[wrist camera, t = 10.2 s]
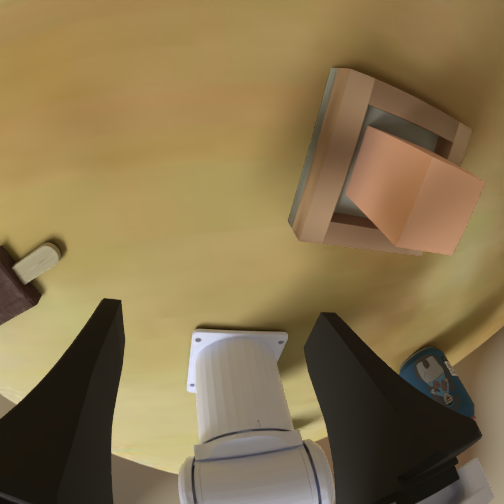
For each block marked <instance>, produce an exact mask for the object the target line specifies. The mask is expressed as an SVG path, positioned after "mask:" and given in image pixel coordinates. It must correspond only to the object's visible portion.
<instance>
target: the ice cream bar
mask: <svg viewBox="0 0 504 504" xmlns="http://www.w3.org/2000/svg"><path fill="white" fill-rule="evenodd" d="M60 258H61V254H60V251H59V249H58V248H57V247H56V246H55V245H54V244H52V243H44V244H42V245H41V246H39V247H38V248H36V249H35V250H33V251H32V252H31V253H29V254H28V255H26V256H25V257H24V258H22V259H21V260H19V261H18V262H17V263H15V262H14V260H13V259H12V257H11V256H10V255H9V254H8V253H7V252H6V250H5V249H4V248H3V247H2V246H0V325H1V324H3V323H5V322H7V321H8V320H10V319H12V318H14V317H15V316H17V315H19V314H21V313H23V312H24V311H26V310H28V309H30V308H32V307H33V306H35V305H37V304H38V302H39V300H40V298H41V296H42V295H41V294H40V293H39V292H38V290H37V289H36V288H35V287H34V285H33V284H32V283H31V282H30V281H31V280H33V279H34V278H36V277H38V276H39V275H41V274H42V273H44V272H46V271H47V270H49V269H51V268H52V267H54V266H56V265H57V264H58V262H59V260H60Z"/></svg>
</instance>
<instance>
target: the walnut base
mask: <svg viewBox="0 0 504 504" xmlns="http://www.w3.org/2000/svg"><path fill="white" fill-rule="evenodd" d="M367 125H368V126H371V127H373V128H376V129H379V130H382V131H384V132H387V133H390V134H392V135H395V136H397V137H400V138H402V139H405V140H407V141H410V142H412V143H415V144H417V145H419V146H422V147H424V148H426V149H428V150H429V151H431V152H433V153H435V154H437V155H439V156H441V157H443V158H445V159H446V160H448V161H450V162H452V163H454V164H455V165H457V166H459V167H460V166H461V163H462V160H463V157H464V154H465V152H466V149H467V146H468V143H469V140H470V136H471V133H472V129H470V128H468V127H467V126H465V125H464V124H462V123H461V122H459V121H457V120H456V119H454V118H452V117H451V116H449V115H447V114H445V113H444V112H442V111H440V110H438V109H437V108H435V107H433V106H431V105H429V104H427V103H426V102H424V101H422V100H420V99H418V98H416V97H414V96H412V95H410V94H408V93H406V92H404V91H402V90H400V89H398V88H395V87H393V86H391V85H389V84H387V83H384V82H382V81H380V80H377V79H375V78H373V77H370V76H368V75H365V74H363V73H360V72H358V71H355V70H353V69H348V68H331V69H330V73H329V77H328V80H327V84H326V88H325V92H324V95H323V99H322V103H321V107H320V110H319V114H318V118H317V121H316V125H315V128H314V132H313V136H312V139H311V143H310V146H309V150H308V153H307V157H306V161H305V164H304V168H303V171H302V174H301V178H300V181H299V185H298V188H297V192H296V195H295V199H294V202H293V205H292V209H291V212H290V215H289V219H288V222H289V224H290V226H291V227H292V229H293V231H294V233H295V235H296V237H297V239H298V240H299V241H302V242H310V243H319V244H327V245H336V246H344V247H352V248H360V249H368V250H376V251H384V252H392V253H400V254H407V255H415V256H421V255H422V253H423V251H420V250H413V249H407V248H400V247H395V246H394V245H393V244H392V242H391V241H390V240H389V239H388V238H387V237H386V236H385V235H384V234H383V233H382V232H381V230H380V229H379V228H378V227H377V226H376V225H375V224H374V223H373V222H372V221H371V220H370V219H369V218H368V217H367V216H366V215H365V214H364V213H363V212H362V211H361V210H360V209H359V208H358V207H357V206H356V205H355V204H354V203H353V202H352V201H351V200H350V199H349V198H348V197H347V196H346V195H345V192H346V189H347V186H348V184H349V181H350V178H351V175H352V172H353V169H354V166H355V163H356V160H357V157H358V154H359V150H360V147H361V144H362V141H363V138H364V135H365V131H366V128H367Z"/></svg>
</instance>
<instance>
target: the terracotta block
mask: <svg viewBox="0 0 504 504" xmlns="http://www.w3.org/2000/svg"><path fill="white" fill-rule="evenodd" d="M484 185H485V182H484V181H482V180H481V179H479V178H478V177H476V176H474V175H473V174H471V173H469V172H468V171H466V170H464V169H462V168H461V167H459V166H457V165H455V164H454V163H452V162H450V161H448V160H446V159H445V158H443V157H441V156H439V155H437V154H435V153H433V152H431V151H429V150H428V149H426V148H424V147H422V146H419V145H417V144H415V143H412V142H410V141H407V140H405V139H402V138H400V137H397V136H395V135H392V134H390V133H387V132H384V131H382V130H379V129H376V128H373V127H371V126H368V125H367V128H366V131H365V135H364V138H363V141H362V144H361V147H360V150H359V154H358V157H357V160H356V163H355V166H354V169H353V172H352V175H351V178H350V181H349V184H348V186H347V189H346V192H345V195H346V196H347V197H348V198H349V199H350V200H351V201H352V202H353V203H354V204H355V205H356V206H357V207H358V208H359V209H360V210H361V211H362V212H363V213H364V214H365V215H366V216H367V217H368V218H369V219H370V220H371V221H372V222H373V223H374V224H375V225H376V226H377V227H378V228H379V229H380V230H381V232H382V233H383V234H384V235H385V236H386V237H387V238H388V239H389V240H390V241H391V242H392V244H393V245H394V246H395V247H400V248H407V249H413V250H420V251H427V252H433V253H439V254H446V255H452V254H453V252H454V250H455V249H456V247H457V245H458V243H459V241H460V239H461V237H462V235H463V233H464V230H465V228H466V226H467V224H468V222H469V220H470V218H471V215H472V213H473V211H474V209H475V206H476V204H477V202H478V200H479V197H480V195H481V192H482V190H483V187H484Z"/></svg>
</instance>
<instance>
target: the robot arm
mask: <svg viewBox="0 0 504 504" xmlns="http://www.w3.org/2000/svg"><path fill="white" fill-rule="evenodd" d="M198 338H199V339H198ZM287 340H288V334H287V333H286V332H270V331H235V330H213V329H195V330H194V331H193V334H192V342H191V351H190V360H189V369H188V379H187V391H188V392H193V393H196V405H197V419H198V432H199V445H194V453H195V456H193V457H188V458H186V460H185V462H184V463H183V464H182V465H181V467H180V470H179V477H178V488H179V496H180V503H181V504H334V501H335V493H336V504H488V503H489V502H491V501H492V500H493V499H494V495H493V493H492V490H491V488H490V485H489V483H488V481H487V478H486V476H485V474H484V471H483V469H482V467H481V465H480V463H479V460H478V458H474V459H473V460H471V461H470V462H468V463H467V464H465V465H463V466H462V467H460V468H458V469H457V470H456V468H455V466H454V465H456V464H458V460H457V458H456V456H458V455H459V454H461V453H462V452H463V451H465V450H466V449H468V448H469V447H470V446H472V445H473V444H474V443H476V442H477V441H478V440H479V439H480V438H481V437H482V434H481V432H480V430H479V428H478V426H477V424H476V422H475V420H474V419H472V418H469V417H467V416H464V415H462V414H460V413H457V412H455V411H453V410H451V409H449V408H447V407H445V406H443V405H442V404H440V403H438V402H436V401H435V400H433V399H431V398H430V397H428V396H427V395H425V394H424V393H422V392H421V391H419V390H418V389H416V388H415V387H414V386H412V385H411V384H410V383H408V382H407V381H406V380H405V379H403V378H402V377H401V376H399V375H398V374H397V373H396V372H395V371H394V370H392V369H391V368H390V367H389V366H388V365H387V364H386V363H385V362H384V361H383V360H382V359H380V358H379V357H378V356H377V355H376V354H375V353H374V352H373V351H372V350H371V349H370V348H369V347H368V346H367V345H366V344H365V343H364V342H363V341H362V340H361V339H360V337H359V336H358V335H357V334H356V333H355V332H354V331H353V330H352V329H351V328H350V327H349V326H348V325H347V324H346V323H345V322H344V321H343V320H342V319H341V318H340V317H339V316H338V315H337V314H336V313H328V312H321V313H320V315H319V317H318V319H317V322H316V324H315V326H314V328H313V330H312V332H311V334H310V336H309V338H308V340H307V342H306V344H305V346H304V352H305V358H306V363H307V368H308V372H309V375H310V378H311V381H312V384H313V387H314V390H315V393H316V396H317V399H318V402H319V405H320V408H321V411H322V414H323V417H324V420H325V424H326V428H327V433H328V437H329V442H330V448H331V454H332V460H333V468H334V478H335V489H334V483H333V478H332V474H331V470H330V466H329V463H328V461H327V458H326V456H325V453H324V451H323V450H322V448H321V447H320V446H319V445H318V444H316V443H314V442H313V441H312V440H310V439H307V440H303V441H302V438H301V434H300V431H299V430H294V427H293V423H292V419H291V415H290V412H289V408H288V404H287V400H286V397H285V393H284V389H283V385H282V381H281V378H280V374H279V370H278V366H277V362H278V360H279V357H280V355H281V353H282V351H283V349H284V346H285V344H286V342H287ZM124 346H125V334H124V325H123V315H122V304H121V300H116V299H107V298H104V299H103V300H101V302H100V304H99V305H98V307H97V308H96V310H95V311H94V313H93V314H92V316H91V317H90V319H89V320H88V322H87V323H86V325H85V326H84V328H83V329H82V330H81V332H80V333H79V334H78V336H77V337H76V339H75V340H74V341H73V343H72V344H71V345H70V347H69V348H68V349H67V350H66V352H65V353H64V354H63V356H62V357H61V358H60V359H59V361H58V362H57V363H56V364H55V365H54V367H53V368H52V369H51V370H50V371H49V373H48V374H47V375H46V376H45V377H44V378H43V379H42V380H41V381H40V382H39V384H38V385H37V386H36V387H35V388H34V389H33V390H32V391H31V392H30V393H29V394H28V395H27V396H26V397H25V398H24V399H23V400H22V401H20V402H19V403H18V404H17V405H16V406H15V407H14V408H13V409H11V410H10V411H9V412H8V413H7V414H6V415H5V416H3V417H2V418H1V419H0V504H113V494H112V476H111V435H112V422H113V414H114V408H115V403H116V397H117V392H118V386H119V381H120V376H121V371H122V366H123V356H124ZM335 491H336V492H335Z"/></svg>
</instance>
